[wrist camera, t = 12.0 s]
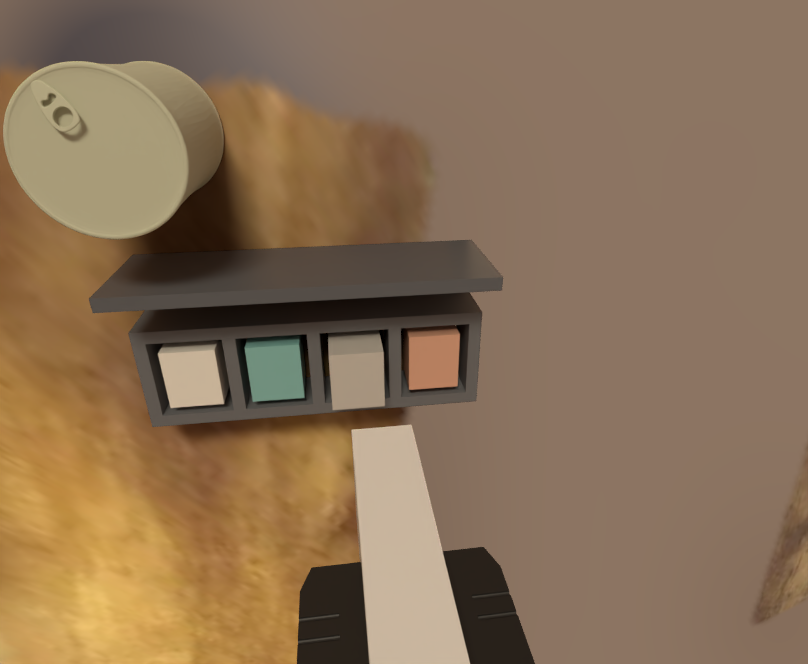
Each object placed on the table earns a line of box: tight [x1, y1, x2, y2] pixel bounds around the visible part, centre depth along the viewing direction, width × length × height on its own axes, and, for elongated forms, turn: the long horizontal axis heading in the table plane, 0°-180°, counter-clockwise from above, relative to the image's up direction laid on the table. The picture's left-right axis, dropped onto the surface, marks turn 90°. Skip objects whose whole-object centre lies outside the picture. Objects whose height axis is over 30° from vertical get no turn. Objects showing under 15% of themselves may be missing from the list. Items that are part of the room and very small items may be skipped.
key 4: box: [403, 325, 460, 390], centre depth 47 cm, size 4×5×4 cm
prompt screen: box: [89, 240, 503, 313], centre depth 40 cm, size 27×1×9 cm, turn 90°
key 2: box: [245, 335, 306, 402], centre depth 45 cm, size 4×5×4 cm
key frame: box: [128, 292, 482, 427], centre depth 46 cm, size 27×9×4 cm, turn 90°
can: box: [3, 61, 224, 239], centre depth 34 cm, size 9×9×12 cm
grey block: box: [328, 330, 385, 410], centre depth 44 cm, size 4×5×4 cm
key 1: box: [158, 340, 229, 408], centre depth 45 cm, size 4×5×4 cm
